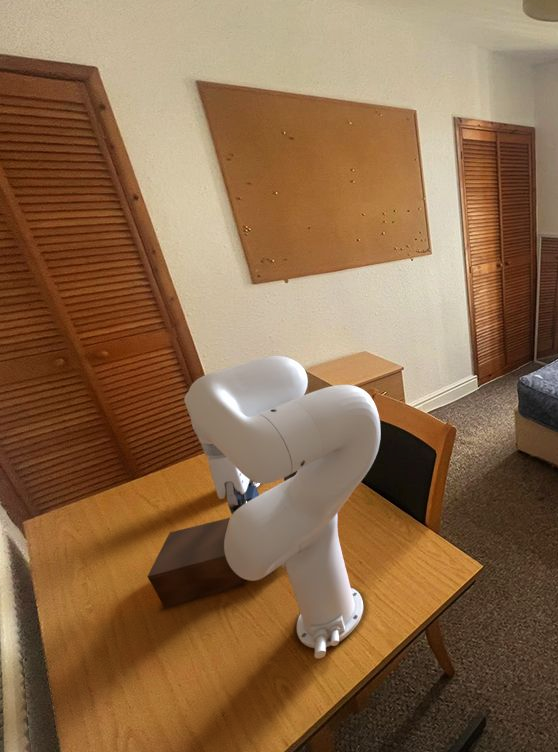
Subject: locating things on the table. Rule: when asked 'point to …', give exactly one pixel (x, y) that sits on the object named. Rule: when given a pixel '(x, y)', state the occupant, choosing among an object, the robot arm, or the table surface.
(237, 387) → the robot arm
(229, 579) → the cabinet
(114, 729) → the table surface
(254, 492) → the block
